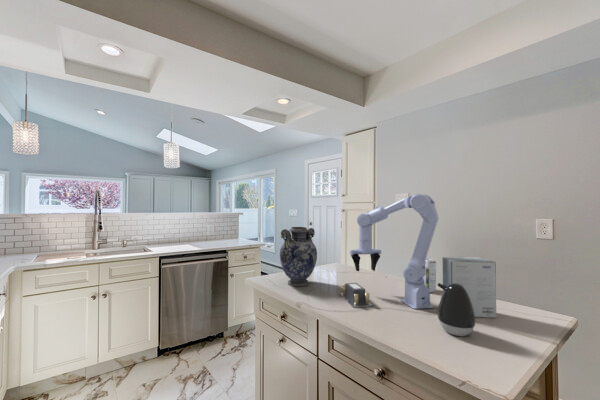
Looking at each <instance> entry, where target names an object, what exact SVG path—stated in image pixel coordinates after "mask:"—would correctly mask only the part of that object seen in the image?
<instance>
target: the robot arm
mask: <svg viewBox="0 0 600 400" xmlns="http://www.w3.org/2000/svg"><path fill="white" fill-rule="evenodd" d="M435 203H436V202H435V201H434V200H433V199H432V197H431V196H430V195H428V194H421V193H416V194H413V195H411V196H406V197H404V198H402V199H400V200H398V201H396V202H394V203H392V204H390V205H388V206H386V207H384V206H382V205H381V206H380V205H378V206H375V208H374V209H373V210H367V211H366V212H365V213H361V214H359V215H358V216H357V218H356V222H357V224H358V226H359V227H358V249H357V248H356V249H349V255H350V257H351V258H352V261H353V264H354V267H355V271H357V272H360V262H361V261H360V260H361V256H360V255H370V256H369V257H370V263H371V264H370V267H371V270H372V271H376V266H377V265H378V264H377V263H378V261H379V260H380V258H381V255H382V250H381V249H377V248H375V249H374V248H373V225H374V224H376V223H379V222H381V221H384V220H386V219H388V217H389V215H390V214H393V213H396V212H398V211H401V210H403V209H413V210H414V211H416V212H417V213H418V215H420V217H421V218H422V224H421V226H420V230H419V233H418V237H417V240H416V243H415V245H414V250H413V253H412V256H411V258H410V260H409V261H408V264H407V266H406V267H405V268H404V269H403V271H402V275H403V278H404V298H401V299H400V302H402V303H404V304H405V305H407V306H408V307H410V308H412V309H414V310H420V309H431V308H433V306H432V305H431V292H430V290H429V288H428V287H426V286H425V283H424V279H423V277H424V276H425V273H426V270H425V265H426V261H425V260H426V258H427V256H428V253H429V250H430V247H431V244H432V241H433V237H434V234H435V232H436V227H437V225H438V222H439V214H438V212H437V208H436V204H435Z"/></svg>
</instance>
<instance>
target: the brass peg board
mask: <svg viewBox="0 0 600 400" xmlns="http://www.w3.org/2000/svg"><path fill="white" fill-rule="evenodd" d="M345 285H346V283H342V292H339V296H341V297H342V298H343V299H344V300H345V301H346V302H347V303H348V304H349V305H350V306H351V307H352V308H353V309H359V308H370V307H371V308H372V307H374V305H373V304H372V303H371V302H370V293H368V292H365V302H358V294H354V303H353V302H352V301H351V300H350V299H349V298H348V297H347V296H346V295H345Z"/></svg>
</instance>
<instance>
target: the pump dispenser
mask: <svg viewBox="0 0 600 400" xmlns="http://www.w3.org/2000/svg"><path fill="white" fill-rule="evenodd" d="M437 286H438V287H439V288H440V289H442V291H443V290H445V291H444V293H443V292H442V295H441V297H440V301H439V305H438V311H437V318H438V320H439V324H440V326H441V328H443V330H444V331H446V332H447V333H448V334H450V335H452V336H457V337H465V336H469V335H470V334H471V333H472V332H473V331H474V328H475V327H476V317H475V314H474V309H473V306H472V302H471V300H470V297H469V295H468V293H467V291H466V290H465V288H464V287H463V286H462V285H460V284H457V283H453V284H450V285H448V286H444V285H443V283H440V282H438V283H437Z"/></svg>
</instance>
